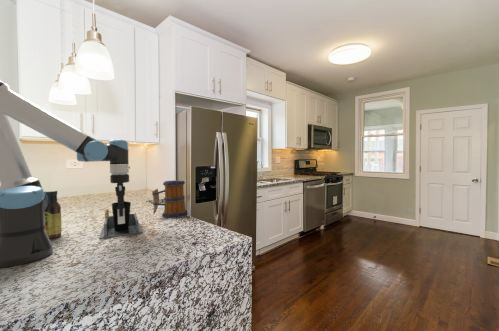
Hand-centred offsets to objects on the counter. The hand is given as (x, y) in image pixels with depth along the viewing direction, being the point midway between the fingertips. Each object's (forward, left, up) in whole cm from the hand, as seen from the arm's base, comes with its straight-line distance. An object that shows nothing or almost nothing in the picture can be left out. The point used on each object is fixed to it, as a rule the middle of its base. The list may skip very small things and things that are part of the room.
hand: (121, 220), depth 109 cm
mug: (+18, -25, -5) cm, 31 cm away
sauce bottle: (+6, +26, -5) cm, 27 cm away
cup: (0, 0, -4) cm, 4 cm away
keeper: (0, 0, -5) cm, 5 cm away
